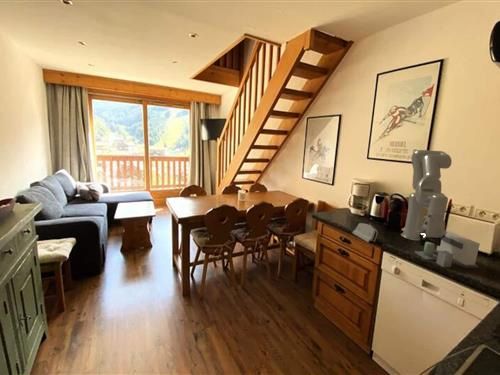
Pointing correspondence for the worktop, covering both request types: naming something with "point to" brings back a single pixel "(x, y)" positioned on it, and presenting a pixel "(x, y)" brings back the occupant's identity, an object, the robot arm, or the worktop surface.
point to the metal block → (444, 258)
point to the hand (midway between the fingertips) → (429, 245)
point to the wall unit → (460, 249)
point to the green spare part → (429, 249)
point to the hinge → (366, 232)
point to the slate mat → (426, 256)
